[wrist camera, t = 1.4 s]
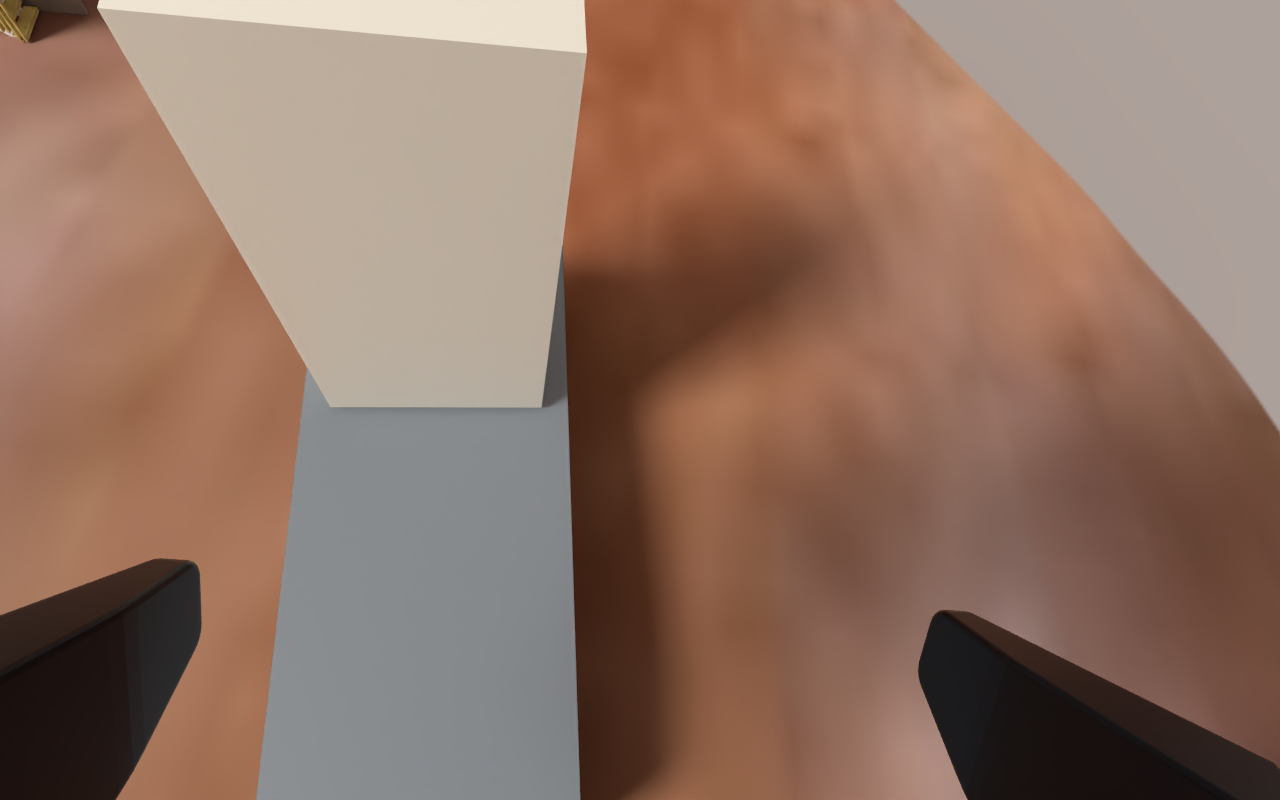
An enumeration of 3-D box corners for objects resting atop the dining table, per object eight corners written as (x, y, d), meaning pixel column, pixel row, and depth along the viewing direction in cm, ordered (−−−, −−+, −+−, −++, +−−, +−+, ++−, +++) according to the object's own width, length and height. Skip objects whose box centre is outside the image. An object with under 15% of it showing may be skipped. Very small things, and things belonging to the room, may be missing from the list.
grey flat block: (569, 840, 19) (582, 867, 16) (289, 870, 18) (242, 907, 15) (555, 302, 26) (562, 243, 22) (346, 296, 24) (321, 232, 21)
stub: (541, 407, 20) (586, 52, 9) (330, 407, 19) (96, 7, 8) (539, 312, 21) (578, -105, 10) (340, 306, 20) (147, -162, 9)
